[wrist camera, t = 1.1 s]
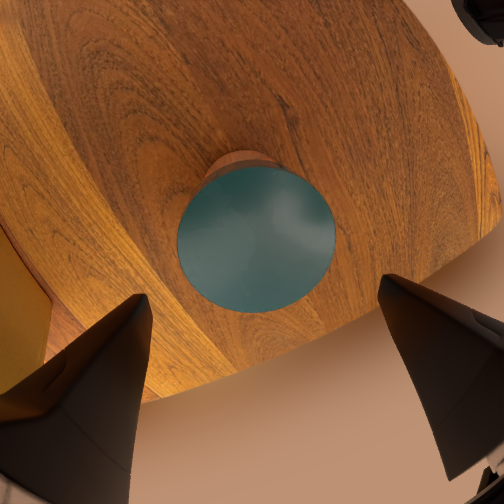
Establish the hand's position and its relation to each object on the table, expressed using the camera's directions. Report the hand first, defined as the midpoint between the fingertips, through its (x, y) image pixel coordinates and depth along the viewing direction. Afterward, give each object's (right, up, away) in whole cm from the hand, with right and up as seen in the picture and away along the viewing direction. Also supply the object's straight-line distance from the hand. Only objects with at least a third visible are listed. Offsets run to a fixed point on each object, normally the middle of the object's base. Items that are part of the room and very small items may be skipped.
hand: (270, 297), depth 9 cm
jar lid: (0, +2, +4) cm, 4 cm away
